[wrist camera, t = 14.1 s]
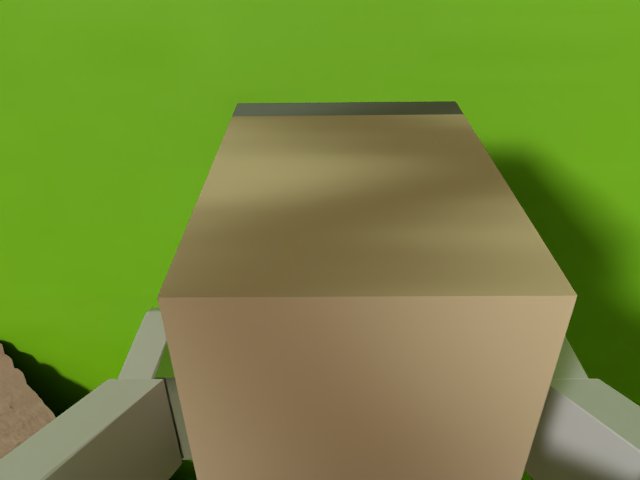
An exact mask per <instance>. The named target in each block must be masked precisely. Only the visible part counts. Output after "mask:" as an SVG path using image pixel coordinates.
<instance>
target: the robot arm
mask: <svg viewBox="0 0 640 480" xmlns="http://www.w3.org/2000/svg"><path fill="white" fill-rule="evenodd" d="M182 460H193V459H192V454H191V450H190V445H189V440H188V436H187V431H186V427H185V422H184V417H183V413H182V408H181V404H180V399H179V394H178V390H177V385H176V381H175V376H174V371H173V367H172V362H171V358H170V353H169V348H168V344H167V339H166V335H165V330H164V325H163V321H162V316H161V312H160V308H154V307H152V308H151V309H150V310H148V311H147V312H146V314H145V316H144V318H143V321H142V323H141V325H140V328H139V330H138V332H137V335H136V337H135V339H134V342H133V344H132V346H131V349H130V351H129V353H128V356H127V358H126V360H125V363H124V365H123V367H122V370H121V372H120V374H119V377H118V379H108V380H106V381H105V382H104V383H102V384H101V385H100V386H98V387H97V388H96V389H94V390H93V391H92V392H90V393H89V394H88V395H86V396H85V397H83V398H82V399H81V400H79V401H78V402H77V403H75V404H74V405H73V406H71V407H70V408H69V409H67V410H66V411H65V412H63V413H62V414H61V415H59V416H58V417H57V418H55V419H54V420H53V421H51V422H50V423H48V424H47V425H46V426H44V427H43V428H42V429H40V430H39V431H38V432H36V433H35V434H34V435H32V436H31V437H30V438H28V439H27V440H26V441H24V442H23V443H22V444H20V445H19V446H18V447H16V448H15V449H13V450H12V451H11V452H9V453H8V454H7V455H5V456H4V457H3V458H1V459H0V480H169V479H170V477H171V476H172V475H173V474H174V473H175V471H176V470H177V469H178V468H179V467H180V466H181V464H182ZM524 470H525V471H526V472H527V473H528V474H529V476H530V477H531V478H532V479H533V480H640V406H639V405H637V404H636V403H634V402H633V401H631V400H630V399H628V398H627V397H625V396H624V395H622V394H621V393H619V392H618V391H616V390H615V389H613V388H612V387H610V386H609V385H607V384H606V383H604V382H603V381H601V380H600V379H589V378H588V376H587V374H586V372H585V370H584V369H583V367H582V365H581V363H580V361H579V360H578V358H577V356H576V354H575V352H574V351H573V349H572V347H571V345H570V343H569V342H568V340H567V338H566V336H565V338H564V341H563V344H562V348H561V351H560V354H559V358H558V361H557V364H556V367H555V371H554V374H553V377H552V380H551V384H550V387H549V390H548V393H547V397H546V400H545V403H544V407H543V410H542V413H541V416H540V420H539V423H538V426H537V429H536V433H535V436H534V439H533V443H532V446H531V449H530V452H529V456H528V459H527V462H526V465H525V469H524Z"/></svg>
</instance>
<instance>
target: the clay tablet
mask: <svg viewBox="0 0 640 480" xmlns="http://www.w3.org/2000/svg"><path fill="white" fill-rule="evenodd" d="M55 418H56V417H55V415H54V413H53V412H52V411H51V410H50V409H49V408H48V407H47V406H46V405H45V404H44V403H43V401H42V399H41V398H40V397H39V396H38V394H37V393H36V392H34V391H33V390H32V389H31V388H30V387H29V386H28V385H27V384H26V379H25V377H24V374H23V372H21V371H20V370H19V369H18V368H14V365H13V361H12V359H11V358H10V357H9V356H8V355H5V354H4V350H3V345H2V344H1V343H0V459H1V458H3V457H4V456H5V455H7V454H8V453H9V452H11V451H12V450H13V449H15V448H16V447H18V446H19V445H20V444H22V443H23V442H24V441H26V440H27V439H28V438H30V437H31V436H32V435H34V434H35V433H36V432H38V431H39V430H40V429H42V428H43V427H44V426H46V425H47V424H48V423H50V422H51V421H53V420H54V419H55Z"/></svg>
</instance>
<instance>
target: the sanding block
mask: <svg viewBox="0 0 640 480" xmlns="http://www.w3.org/2000/svg"><path fill="white" fill-rule="evenodd" d="M157 298H158V302H159V307H160V312H161V316H162V321H163V325H164V330H165V335H166V339H167V344H168V348H169V353H170V358H171V362H172V367H173V371H174V376H175V381H176V385H177V390H178V394H179V399H180V404H181V408H182V413H183V417H184V422H185V427H186V431H187V436H188V440H189V445H190V450H191V454H192V459H193V463H194V468H195V473H196V477H197V480H521V478H522V475H523V472H524V469H525V465H526V462H527V459H528V456H529V452H530V449H531V446H532V443H533V439H534V436H535V433H536V429H537V426H538V423H539V420H540V416H541V413H542V410H543V407H544V403H545V400H546V397H547V393H548V390H549V387H550V384H551V380H552V377H553V374H554V371H555V367H556V364H557V361H558V358H559V354H560V351H561V348H562V344H563V341H564V338H565V335H566V331H567V328H568V325H569V322H570V318H571V315H572V312H573V308H574V305H575V302H576V299H577V294H576V293H575V291H574V289H573V288H572V286H571V285H570V283H569V281H568V280H567V278H566V277H565V275H564V273H563V272H562V270H561V269H560V267H559V265H558V264H557V262H556V261H555V259H554V258H553V256H552V254H551V253H550V251H549V250H548V248H547V246H546V245H545V243H544V242H543V240H542V238H541V237H540V235H539V234H538V232H537V230H536V229H535V227H534V226H533V224H532V223H531V221H530V219H529V218H528V216H527V215H526V213H525V211H524V210H523V208H522V207H521V205H520V203H519V202H518V200H517V199H516V197H515V195H514V194H513V192H512V191H511V189H510V188H509V186H508V184H507V183H506V181H505V180H504V178H503V176H502V175H501V173H500V172H499V170H498V168H497V167H496V165H495V164H494V162H493V160H492V159H491V157H490V156H489V154H488V152H487V151H486V149H485V148H484V146H483V145H482V143H481V141H480V140H479V138H478V137H477V135H476V133H475V132H474V130H473V129H472V127H471V125H470V124H469V122H468V121H467V119H466V117H465V116H464V114H463V113H462V111H461V110H460V108H459V106H458V105H457V103H456V102H347V103H238V104H237V106H236V109H235V111H234V113H233V116H232V118H231V121H230V123H229V125H228V128H227V130H226V133H225V135H224V138H223V140H222V142H221V145H220V147H219V150H218V152H217V155H216V157H215V159H214V162H213V164H212V167H211V169H210V172H209V174H208V176H207V179H206V181H205V184H204V186H203V188H202V191H201V193H200V196H199V198H198V201H197V203H196V205H195V208H194V210H193V213H192V215H191V218H190V220H189V222H188V225H187V227H186V230H185V232H184V234H183V237H182V239H181V242H180V244H179V247H178V249H177V251H176V254H175V256H174V259H173V261H172V264H171V266H170V268H169V271H168V273H167V276H166V278H165V281H164V283H163V285H162V288H161V290H160V293H159V295H158V297H157Z"/></svg>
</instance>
